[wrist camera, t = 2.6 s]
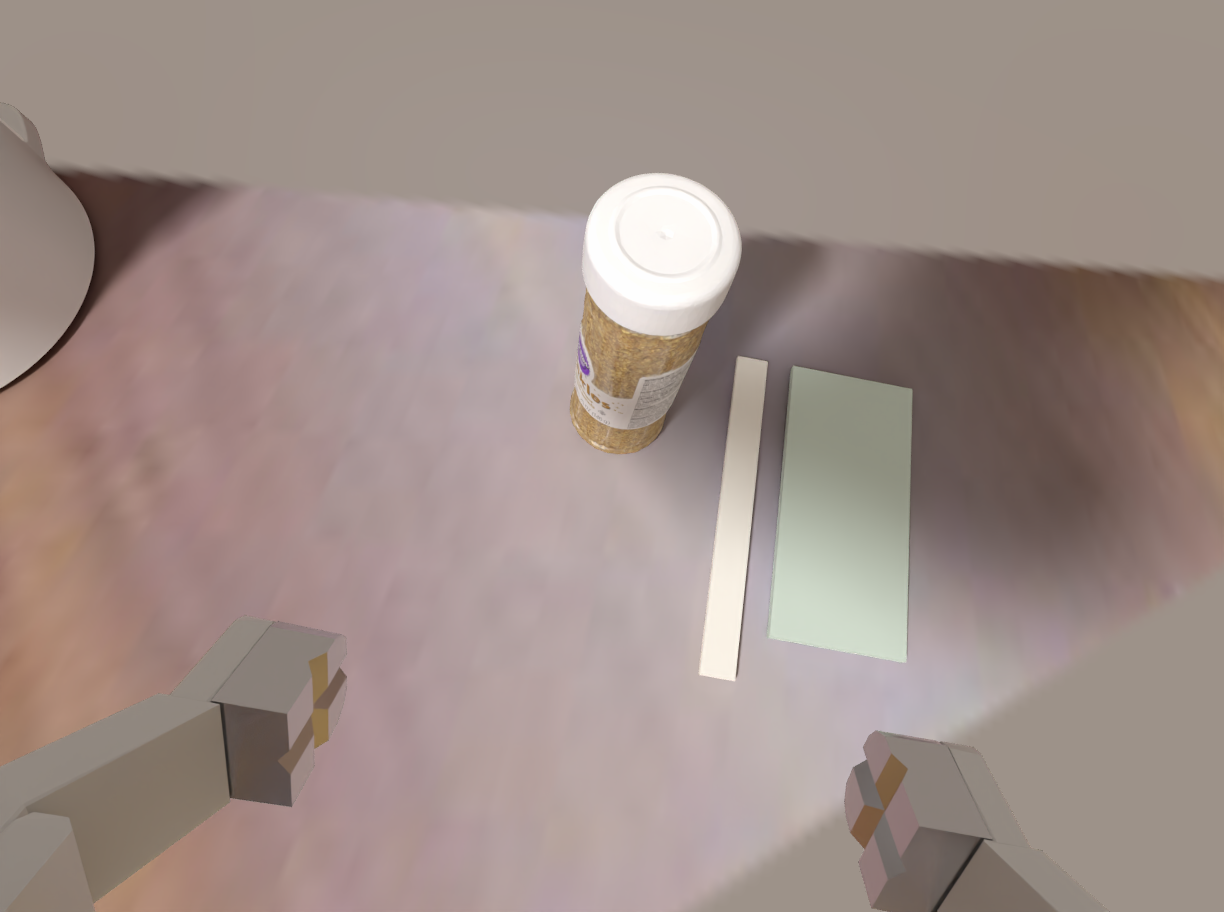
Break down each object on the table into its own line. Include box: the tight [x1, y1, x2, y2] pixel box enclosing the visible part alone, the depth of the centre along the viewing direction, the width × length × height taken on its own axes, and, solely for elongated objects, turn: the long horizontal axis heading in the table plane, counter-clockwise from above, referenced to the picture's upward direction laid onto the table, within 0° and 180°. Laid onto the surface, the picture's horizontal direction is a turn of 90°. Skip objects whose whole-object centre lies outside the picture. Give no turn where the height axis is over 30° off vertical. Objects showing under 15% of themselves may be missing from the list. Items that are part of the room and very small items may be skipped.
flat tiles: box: [698, 356, 913, 681], centre depth 30 cm, size 9×15×1 cm, turn 170°
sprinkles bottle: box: [570, 173, 742, 454], centre depth 25 cm, size 5×5×14 cm
